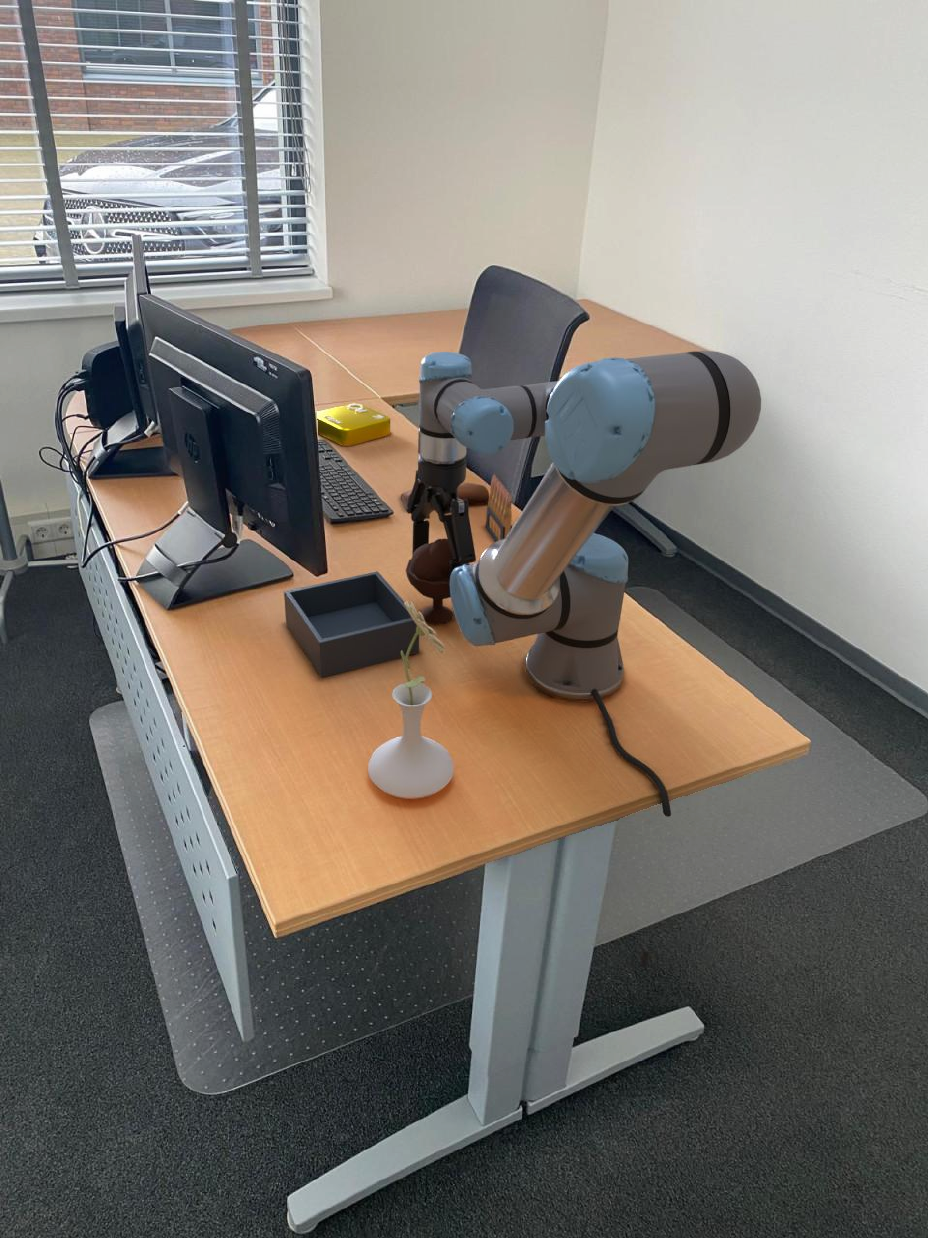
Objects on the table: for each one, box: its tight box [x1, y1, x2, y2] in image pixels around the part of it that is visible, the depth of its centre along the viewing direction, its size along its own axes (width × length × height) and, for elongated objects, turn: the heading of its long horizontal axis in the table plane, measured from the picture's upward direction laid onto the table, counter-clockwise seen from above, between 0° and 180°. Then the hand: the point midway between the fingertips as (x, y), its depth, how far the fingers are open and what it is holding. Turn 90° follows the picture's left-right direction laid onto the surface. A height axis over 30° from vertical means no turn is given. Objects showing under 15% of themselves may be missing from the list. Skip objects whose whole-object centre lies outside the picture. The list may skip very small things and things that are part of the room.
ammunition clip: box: [485, 473, 513, 543], centre depth 178 cm, size 11×2×12 cm, turn 17°
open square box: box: [283, 571, 420, 678], centre depth 147 cm, size 17×17×6 cm
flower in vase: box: [367, 600, 455, 800], centre depth 115 cm, size 13×11×25 cm
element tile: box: [316, 402, 391, 447], centre depth 226 cm, size 15×15×5 cm
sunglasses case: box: [400, 482, 490, 510], centre depth 194 cm, size 18×7×7 cm
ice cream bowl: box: [405, 537, 471, 625], centre depth 152 cm, size 11×11×15 cm
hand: (438, 574), depth 152 cm, fingers open, 13 cm apart
